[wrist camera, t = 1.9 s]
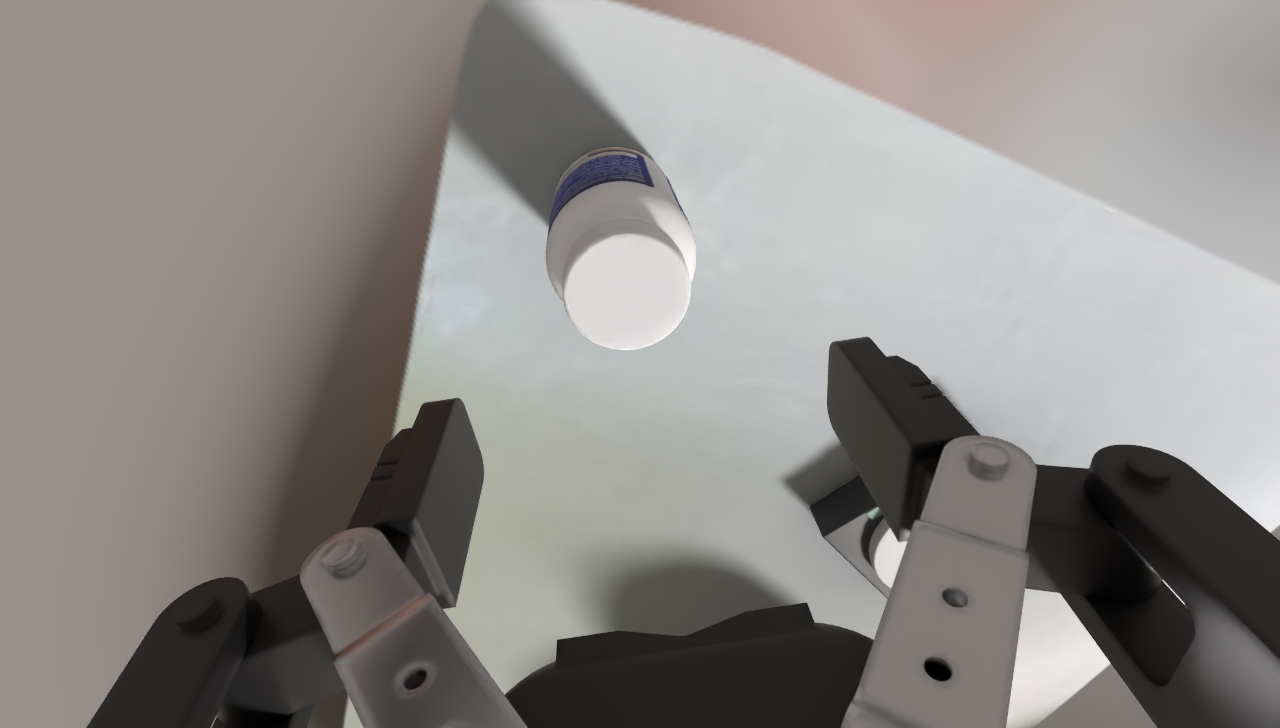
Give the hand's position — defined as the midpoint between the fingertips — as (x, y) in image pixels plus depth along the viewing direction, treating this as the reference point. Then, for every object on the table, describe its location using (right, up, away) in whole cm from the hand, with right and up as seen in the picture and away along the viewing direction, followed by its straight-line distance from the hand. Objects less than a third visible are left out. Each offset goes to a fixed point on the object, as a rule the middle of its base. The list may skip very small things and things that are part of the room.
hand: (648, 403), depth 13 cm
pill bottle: (-1, +8, +13) cm, 15 cm away
